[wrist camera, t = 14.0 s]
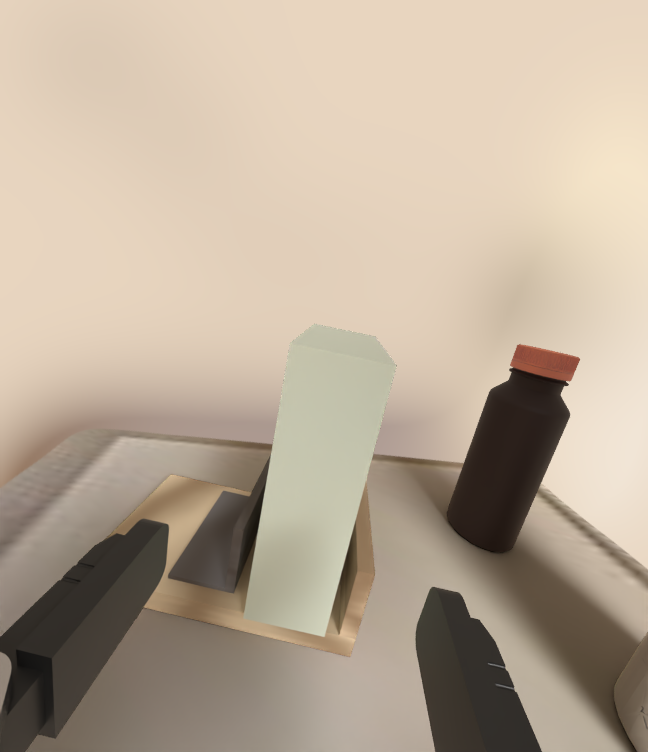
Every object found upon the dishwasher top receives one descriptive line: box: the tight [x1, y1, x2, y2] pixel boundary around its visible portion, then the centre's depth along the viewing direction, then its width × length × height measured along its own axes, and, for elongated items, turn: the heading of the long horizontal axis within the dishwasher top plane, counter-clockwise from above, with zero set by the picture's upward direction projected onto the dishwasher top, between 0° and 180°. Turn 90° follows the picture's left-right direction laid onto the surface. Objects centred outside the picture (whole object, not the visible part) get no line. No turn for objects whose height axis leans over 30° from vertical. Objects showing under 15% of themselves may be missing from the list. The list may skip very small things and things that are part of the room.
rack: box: [106, 455, 375, 657], centre depth 24 cm, size 18×11×6 cm, turn 85°
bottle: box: [447, 344, 580, 552], centre depth 31 cm, size 7×7×20 cm
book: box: [243, 324, 397, 637], centre depth 22 cm, size 5×11×17 cm, turn 175°
